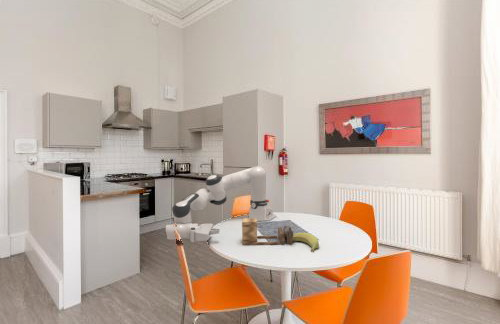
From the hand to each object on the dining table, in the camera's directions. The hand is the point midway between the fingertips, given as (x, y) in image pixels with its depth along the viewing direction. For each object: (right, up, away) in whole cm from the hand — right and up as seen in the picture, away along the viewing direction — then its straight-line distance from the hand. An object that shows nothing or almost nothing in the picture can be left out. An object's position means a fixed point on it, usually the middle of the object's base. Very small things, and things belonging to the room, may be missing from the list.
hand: (219, 231), depth 146 cm
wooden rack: (+27, -6, 0) cm, 27 cm away
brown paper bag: (+17, -6, 0) cm, 18 cm away
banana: (+46, -6, -6) cm, 47 cm away
